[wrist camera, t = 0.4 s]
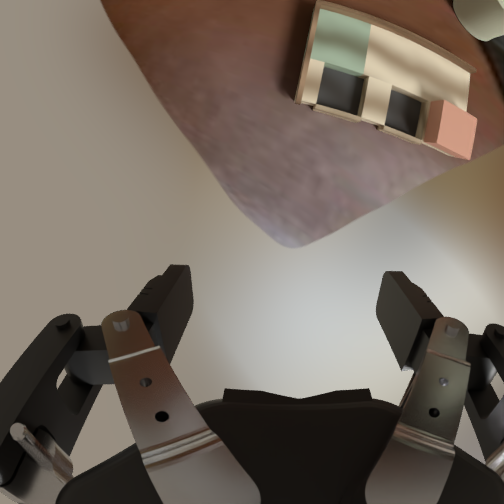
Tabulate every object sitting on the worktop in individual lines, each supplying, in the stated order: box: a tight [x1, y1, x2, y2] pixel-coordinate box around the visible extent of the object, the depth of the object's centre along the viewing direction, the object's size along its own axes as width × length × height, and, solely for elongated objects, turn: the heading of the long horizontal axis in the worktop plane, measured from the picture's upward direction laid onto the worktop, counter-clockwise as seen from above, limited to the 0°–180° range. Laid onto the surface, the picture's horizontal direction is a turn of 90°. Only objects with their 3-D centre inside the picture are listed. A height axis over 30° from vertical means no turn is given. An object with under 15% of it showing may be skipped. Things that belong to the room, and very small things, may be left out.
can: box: [453, 0, 504, 41], centre depth 16 cm, size 9×9×12 cm
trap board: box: [294, 0, 476, 157], centre depth 28 cm, size 15×24×4 cm, turn 79°
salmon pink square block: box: [424, 100, 477, 160], centre depth 28 cm, size 6×6×4 cm
